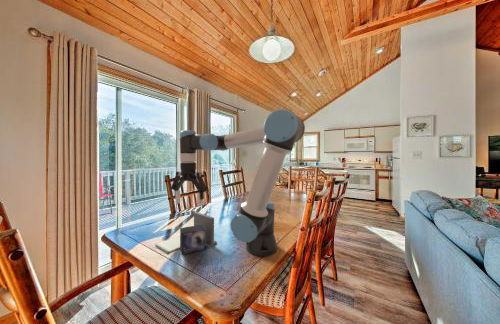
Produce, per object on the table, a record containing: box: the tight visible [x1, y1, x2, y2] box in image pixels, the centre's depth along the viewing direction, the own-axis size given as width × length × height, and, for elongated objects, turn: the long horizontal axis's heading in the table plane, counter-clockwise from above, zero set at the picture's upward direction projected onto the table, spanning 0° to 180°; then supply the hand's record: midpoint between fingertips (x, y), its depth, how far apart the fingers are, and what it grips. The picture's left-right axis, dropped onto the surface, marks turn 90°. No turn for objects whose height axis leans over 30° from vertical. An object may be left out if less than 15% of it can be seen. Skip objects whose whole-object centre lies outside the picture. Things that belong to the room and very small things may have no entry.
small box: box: [179, 225, 206, 256], centre depth 93 cm, size 11×6×10 cm, turn 119°
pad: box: [154, 235, 180, 254], centre depth 99 cm, size 11×17×1 cm, turn 142°
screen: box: [193, 211, 218, 249], centre depth 101 cm, size 14×6×14 cm, turn 52°
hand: (188, 204), depth 98 cm, fingers open, 13 cm apart
